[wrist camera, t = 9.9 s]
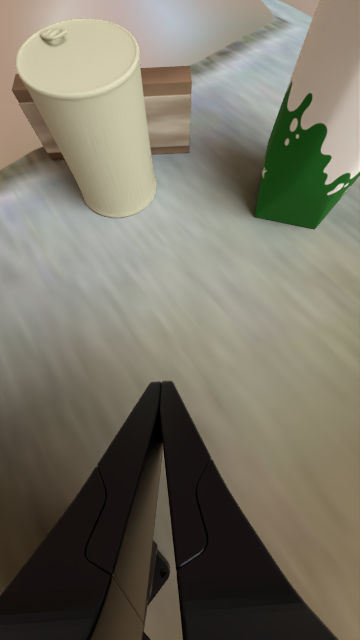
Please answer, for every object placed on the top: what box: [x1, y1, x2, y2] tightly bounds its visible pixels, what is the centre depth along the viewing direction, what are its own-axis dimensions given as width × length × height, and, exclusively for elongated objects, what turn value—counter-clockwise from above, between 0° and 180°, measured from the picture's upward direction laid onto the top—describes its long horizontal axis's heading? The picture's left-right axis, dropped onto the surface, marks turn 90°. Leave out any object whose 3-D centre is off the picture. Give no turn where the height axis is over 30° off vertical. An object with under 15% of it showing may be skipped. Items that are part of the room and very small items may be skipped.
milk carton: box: [255, 0, 360, 229], centre depth 17 cm, size 9×9×20 cm
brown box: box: [12, 66, 192, 159], centre depth 25 cm, size 3×18×7 cm, turn 93°
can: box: [16, 19, 157, 218], centre depth 21 cm, size 9×9×12 cm
